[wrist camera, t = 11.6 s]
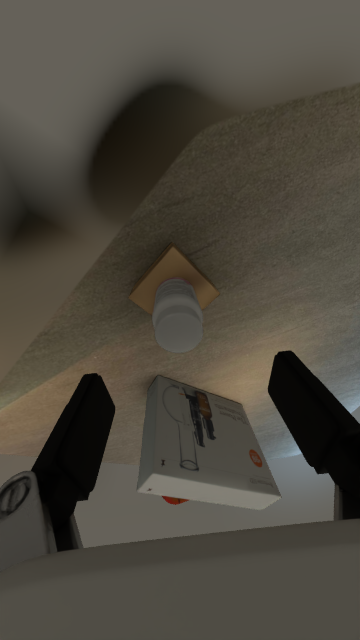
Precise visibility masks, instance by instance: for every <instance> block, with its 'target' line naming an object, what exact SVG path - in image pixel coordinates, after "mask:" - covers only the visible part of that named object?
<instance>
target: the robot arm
mask: <svg viewBox="0 0 360 640" xmlns="http://www.w3.org/2000/svg"><path fill="white" fill-rule="evenodd" d="M268 393H269V395H270V397H271V399H272V401H273V402H274V404H275V406H276V408H277V409H278V411H279V413H280V415H281V417H282V418H283V420H284V422H285V424H286V425H287V427H288V429H289V431H290V433H291V434H292V436H293V438H294V440H295V441H296V443H297V445H298V447H299V449H300V450H301V452H302V454H303V456H304V458H305V459H306V461H307V462H308V464H309V465H310V466H311V467H314V469H315V471H316V472H317V474H324V473H329V475H330V476H331V478H332V480H333V481H334V483H335V493H334V521H324V522H313V523H304V524H293V525H284V526H274V527H265V528H255V529H247V530H237V531H228V532H219V533H210V534H201V535H192V536H183V537H173V538H164V539H156V540H147V541H138V542H130V543H121V544H113V545H104V546H97V547H89V548H83V545H82V541H81V538H80V534H79V531H78V527H77V524H76V520H75V516H74V509H75V506H76V503H77V501H83V500H88V497H89V493H90V492H91V491H92V490H93V489H94V487H95V483H96V480H97V476H98V472H99V469H100V465H101V462H102V458H103V454H104V451H105V447H106V443H107V440H108V436H109V432H110V429H111V425H112V421H113V418H114V414H115V405H114V403H113V401H112V399H111V397H110V394H109V392H108V390H107V388H106V386H105V384H104V382H103V379H102V377H101V376H100V375H99V376H98V374H97V373H92V374H85V375H83V377H82V379H81V381H80V382H79V384H78V386H77V388H76V390H75V392H74V394H73V395H72V397H71V399H70V401H69V403H68V404H67V405H66V407H65V408H64V410H63V412H62V414H61V416H60V418H59V419H58V421H57V423H56V425H55V427H54V429H53V431H52V432H51V434H50V436H49V438H48V440H47V442H46V443H45V445H44V447H43V449H42V451H41V453H40V454H39V456H38V458H37V460H36V462H35V464H34V466H33V467H32V469H31V471H23V472H20V473H18V474H16V475H15V476H13V477H11V478H10V479H9V480H8V481H7V482H5V483H4V484H3V485H2V486H1V488H0V640H360V424H359V423H358V422H357V420H356V419H355V418H354V417H353V416H352V415H351V414H350V413H349V412H348V411H347V410H346V408H345V407H344V406H343V405H342V404H341V403H340V402H339V401H338V400H337V399H336V398H335V396H334V395H333V394H332V393H331V392H330V391H329V390H328V389H327V388H326V387H325V386H324V384H323V383H322V382H321V381H320V380H319V379H318V378H317V377H316V376H314V375H313V373H312V372H311V371H310V370H309V369H308V368H307V367H306V366H305V365H304V364H303V362H302V361H301V360H300V359H299V358H298V357H297V356H296V355H295V354H294V353H293V352H292V351H281V352H278V354H277V355H275V357H274V362H273V366H272V371H271V376H270V380H269V385H268Z"/></svg>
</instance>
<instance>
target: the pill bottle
mask: <svg viewBox="0 0 360 640" xmlns="http://www.w3.org/2000/svg"><path fill="white" fill-rule="evenodd" d="M152 322H153V326H154V328H155V338H156V341H157V343H158V344H159V345H160V346H161V347H162V348H163V349H165V350H166V351H169V352H173V353H183V352H187V351H190V350H192V349H193V348H195V347H196V346H197V345H198V344H199V343H200V341H201V339H202V336H203V327H202V322H203V314H202V310H201V307H200V304H199V302H198V299H197V296H196V294H195V291H194V289H193V287H192V285H191V284H190V283H189V282H188V281H187V280H185V279H183V278H179V277H173V278H169V279H166V280H164V281H163V282H162V283H161V284H160V285H159V286H158V288H157V291H156V295H155V302H154V309H153V314H152Z"/></svg>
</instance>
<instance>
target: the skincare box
mask: <svg viewBox="0 0 360 640" xmlns="http://www.w3.org/2000/svg"><path fill="white" fill-rule="evenodd" d="M137 492H141V493H148V494H155V495H162V496H168V497H175V498H182V499H188V500H195V501H202V502H210V503H217V504H223V505H230V506H236V507H243V508H249V509H257V510H263V509H264V508H265V507H267V506H269V505H271V504H272V503H274V502H275V501H277V500H278V499H280V498H282V496H281V494H280V492H279V490H278V488H277V485H276V483H275V481H274V478H273V476H272V474H271V471H270V469H269V467H268V465H267V462H266V460H265V457H264V455H263V453H262V450H261V448H260V446H259V444H258V441H257V439H256V437H255V434H254V432H253V430H252V427H251V425H250V423H249V420H248V418H247V416H246V413H245V411H244V409H243V406H242V405H241V404H238V403H236V402H233V401H230V400H227V399H224V398H222V397H219V396H216V395H213V394H210V393H208V392H205V391H202V390H199V389H196V388H193V387H190V386H188V385H185V384H182V383H179V382H176V381H173V380H171V379H168V378H165V377H162V376H159V375H158V376H157V377H156V379H155V380H154V382H153V383H152V385H151V386H150V388H149V389H148V392H147V403H146V412H145V419H144V427H143V437H142V449H141V458H140V467H139V476H138V483H137Z"/></svg>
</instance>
